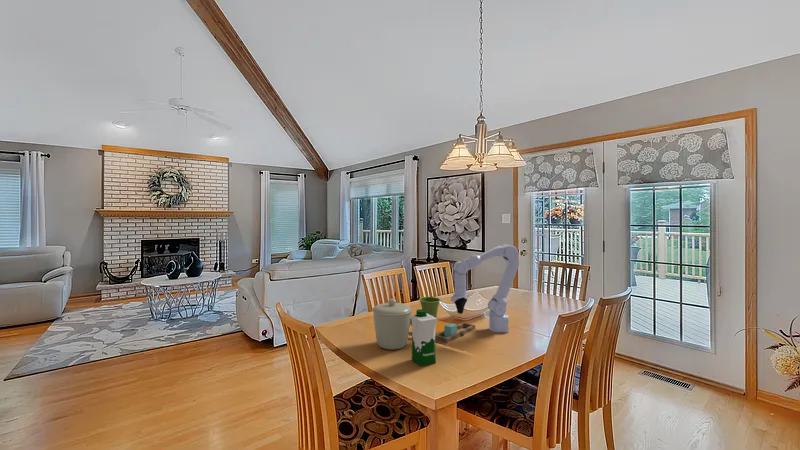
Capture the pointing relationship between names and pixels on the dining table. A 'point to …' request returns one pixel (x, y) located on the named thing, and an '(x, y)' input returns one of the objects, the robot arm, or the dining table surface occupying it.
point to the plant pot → (430, 305)
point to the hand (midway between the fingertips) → (460, 313)
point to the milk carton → (423, 338)
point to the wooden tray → (461, 333)
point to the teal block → (450, 329)
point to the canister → (392, 324)
